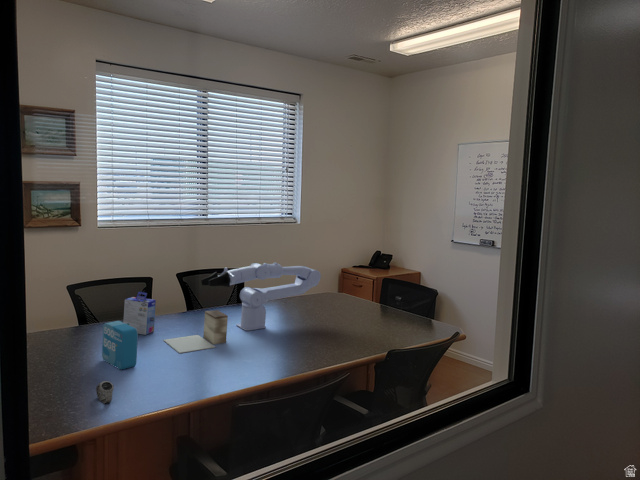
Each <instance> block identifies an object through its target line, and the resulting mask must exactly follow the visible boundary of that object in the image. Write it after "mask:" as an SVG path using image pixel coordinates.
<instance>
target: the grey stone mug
mask: <svg viewBox="0 0 640 480" xmlns="http://www.w3.org/2000/svg"><path fill="white" fill-rule="evenodd" d="M114 387H115V386H114V384H113V383H112V382H111V381H109V380H105V381H101V382H99V383H98V384H97V386H96V389H95V391H96V396H97V397H96V398H98V400H99V402H101V401H102V402H101V403H103V404H104V403H106V404H108V403H111V402H112V401H113V392H114Z"/></svg>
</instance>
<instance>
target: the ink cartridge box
mask: <svg viewBox="0 0 640 480" xmlns="http://www.w3.org/2000/svg"><path fill="white" fill-rule="evenodd" d="M142 295H144V296H142ZM147 296H148V293H147V292H145V291H144V292H143V291H138V292H137V295H136V297H135V296H131V297H128V298H125V299H124V307H123V308H124V309H123V323H125V324H127V325H129V326H131V327H134V328H136V330H137V332H138V335H144V336H145V335H146V336H147V335H150V334H152V333H154V332H155V319H156V317H155V316H156V303H157V302H156V301H157V300H156V299H154V298H153V299H151V298H147Z"/></svg>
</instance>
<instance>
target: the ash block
mask: <svg viewBox="0 0 640 480" xmlns="http://www.w3.org/2000/svg"><path fill="white" fill-rule="evenodd" d="M228 317H229V316H228V315H227V314H225V313H224V312H222V311H220V310H218V309H216V310H215V309H214V310H213V309H212V310H206V311H204V319H203V320H204V321H203V323H204V324H203V337H202V338H203V339H205V340H206V341H208V342H209V343H211V344H212V345H214V346H215V345H220V344H226V343H227V332H228V319H229V318H228Z"/></svg>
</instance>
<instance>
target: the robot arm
mask: <svg viewBox="0 0 640 480" xmlns="http://www.w3.org/2000/svg"><path fill="white" fill-rule="evenodd" d="M283 275H284V276H295V280H294V283H288V284H282V285H278V286H277V285H276V286H270V287H265V288H263V287H262V288H259V287H249V286H245V287H243V288H242V289H241V290H240V293H239V299H240V301H241V315H240V323H236V324H235V325H236V326H237V327H238V328H240V329H242V330H244V331H246V332H248V331H255V330H261V329H266V328H267V326H266V317H267V315H266V314H267V310H266V306H264V304H265V305H266V304H267V302H269V301H272V300H277V299H282V298H283V299H284V298H288V297H289V298H290V297H294V296H302V295H304V294H305V293H307V291H309V290H311V289H312V288H314V287H317V286H318V284H319V283H320V281H321V279H322V278H321V277H322V275H321V272H320V271H319V270H318V269H314V268H310V267H308V266H305V265H292V266H291V265H290V266H282V265H281V264H280V263H278V262H273V263H266V262H263V264H260V263H258V262H257V263H256V262H254V263H251V264H250V265H249V266H243V267H237V268H233V269H228V267H224V268H223V271H222V272H221V274H220V275H219V274H218V271H215V272H213V273H212V274H211V275H209V276H207V277H204V278H202V279H201V280H200V283H201V286H209V287H226V288H229V287H231V286H233V285H237V284H241V283H245V282H250V281H255V280H262V281H265V280H266V279H277V278H278V279H279V278H281V277H282V276H283Z"/></svg>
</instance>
